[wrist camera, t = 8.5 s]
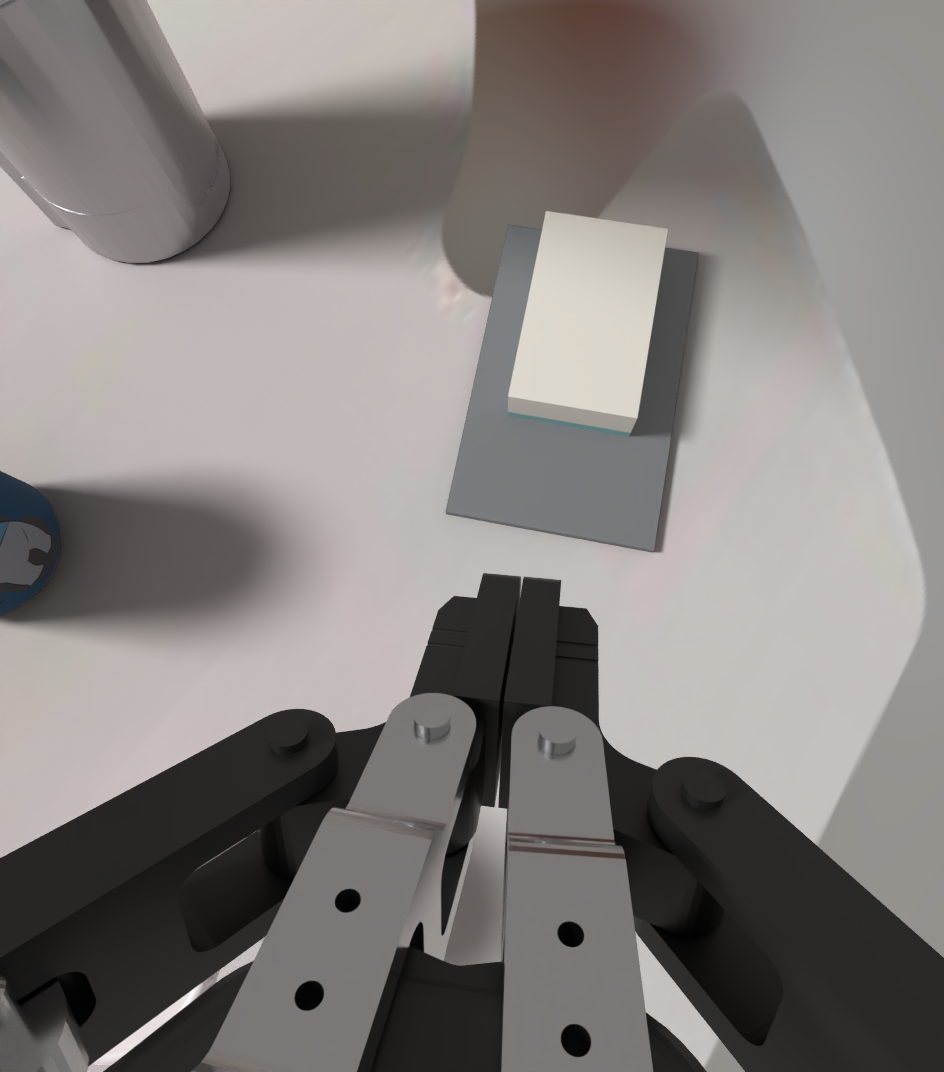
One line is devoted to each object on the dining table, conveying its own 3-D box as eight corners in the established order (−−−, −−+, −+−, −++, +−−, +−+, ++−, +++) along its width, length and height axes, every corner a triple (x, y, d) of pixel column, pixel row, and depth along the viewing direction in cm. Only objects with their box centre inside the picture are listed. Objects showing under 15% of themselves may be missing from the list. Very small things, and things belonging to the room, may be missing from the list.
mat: (446, 513, 35) (445, 511, 35) (508, 229, 39) (508, 224, 38) (652, 552, 34) (654, 550, 34) (696, 257, 38) (698, 252, 37)
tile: (507, 396, 34) (546, 210, 36) (507, 415, 36) (543, 240, 38) (637, 418, 33) (668, 228, 35) (628, 436, 35) (658, 257, 37)
